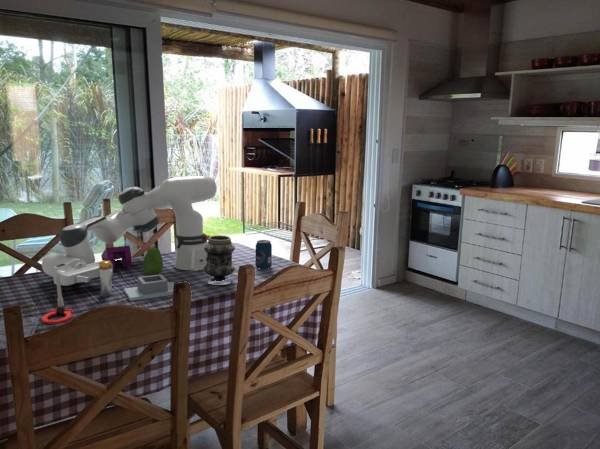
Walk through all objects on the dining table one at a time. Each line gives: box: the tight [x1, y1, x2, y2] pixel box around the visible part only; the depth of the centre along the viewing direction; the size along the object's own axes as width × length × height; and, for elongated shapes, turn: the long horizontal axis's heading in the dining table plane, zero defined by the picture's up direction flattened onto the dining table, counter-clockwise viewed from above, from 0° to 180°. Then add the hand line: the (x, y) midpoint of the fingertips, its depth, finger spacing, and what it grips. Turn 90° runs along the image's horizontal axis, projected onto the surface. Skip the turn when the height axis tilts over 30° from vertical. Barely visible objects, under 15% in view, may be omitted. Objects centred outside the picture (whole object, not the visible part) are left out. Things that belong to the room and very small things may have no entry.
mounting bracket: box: [101, 244, 133, 270], centre depth 211 cm, size 10×8×18 cm
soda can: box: [254, 239, 273, 269], centre depth 210 cm, size 7×7×12 cm
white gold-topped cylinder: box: [98, 260, 113, 297], centre depth 172 cm, size 4×4×12 cm
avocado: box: [142, 246, 164, 276], centre depth 195 cm, size 8×8×12 cm
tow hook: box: [41, 275, 74, 325], centre depth 150 cm, size 8×13×9 cm
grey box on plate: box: [123, 273, 175, 302], centre depth 176 cm, size 18×11×5 cm, turn 120°
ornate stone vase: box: [203, 234, 236, 281], centre depth 189 cm, size 12×12×18 cm
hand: (99, 276), depth 173 cm, fingers open, 8 cm apart
